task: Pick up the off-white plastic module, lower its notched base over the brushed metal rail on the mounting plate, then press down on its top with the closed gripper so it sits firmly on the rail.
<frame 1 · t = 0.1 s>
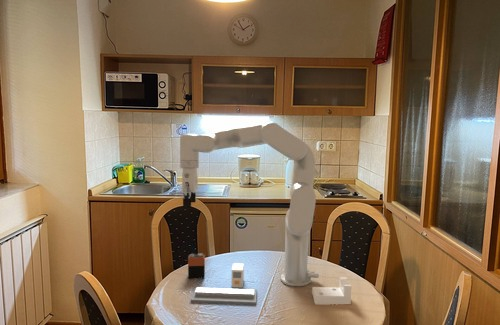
hand: (189, 204, 155), 31 cm above the table, tool pointing down, fingers open, 9 cm apart
mounting plate: (224, 296, 142), on the table
bracket: (330, 301, 141), on the table
battery: (196, 277, 159), on the table
module: (237, 283, 153), on the table
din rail: (224, 292, 141), on the mounting plate, point 1 cm above the table
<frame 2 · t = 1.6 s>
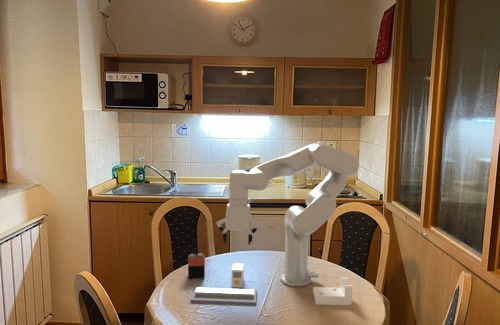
hand: (237, 243, 151), 17 cm above the table, tool pointing down, fingers open, 9 cm apart
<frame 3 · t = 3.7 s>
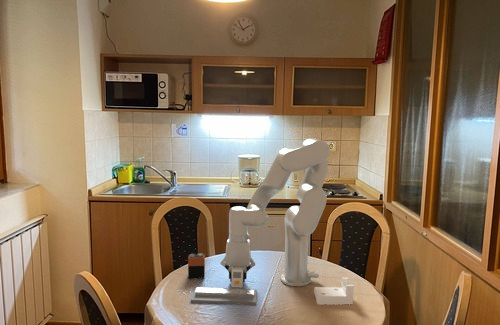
hand: (237, 280, 153), 1 cm above the table, tool pointing down, fingers closed on module, 4 cm apart
module: (237, 283, 153), on the table, touching gripper
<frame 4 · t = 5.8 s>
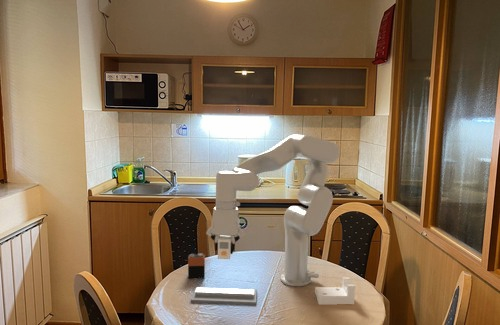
hand: (225, 252, 140), 18 cm above the table, tool pointing down, fingers closed on module, 4 cm apart
module: (224, 255, 140), point 16 cm above the table, touching gripper
when the fingers open (4 cm above the table, at t = 8.1 s): module stays where it is, resting on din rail.
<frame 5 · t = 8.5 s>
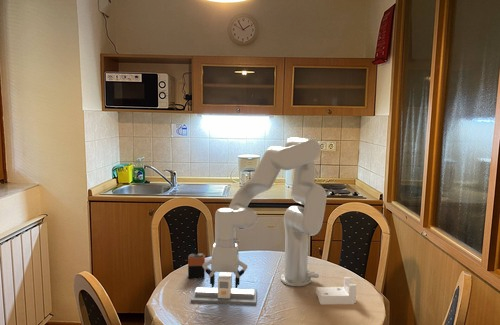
hand: (224, 285, 141), 4 cm above the table, tool pointing down, fingers open, 8 cm apart
module: (224, 293, 142), point 1 cm above the table, touching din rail
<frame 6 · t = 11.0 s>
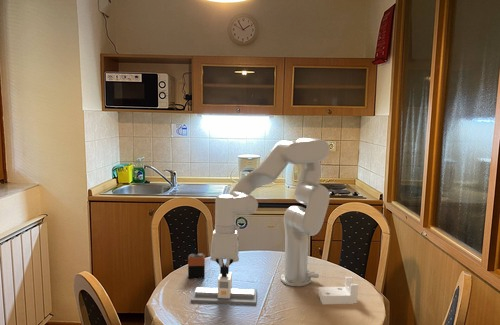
hand: (224, 275, 141), 9 cm above the table, tool pointing down, fingers closed
module: (224, 293, 142), point 1 cm above the table, touching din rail, gripper
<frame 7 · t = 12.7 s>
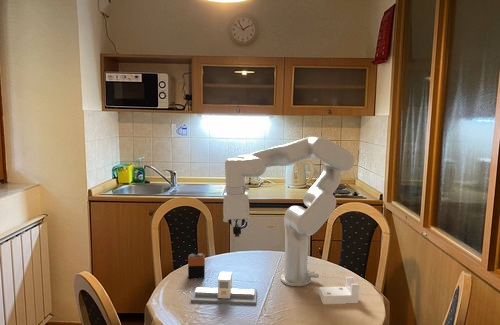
hand: (237, 235, 147), 21 cm above the table, tool pointing down, fingers closed
module: (224, 293, 142), point 1 cm above the table, touching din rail
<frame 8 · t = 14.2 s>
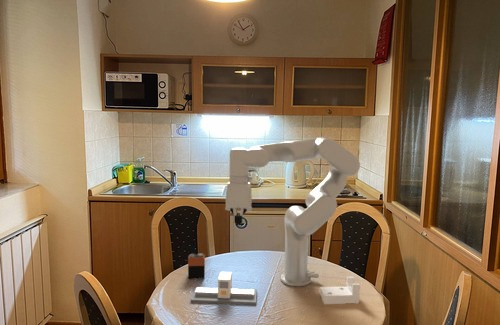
hand: (238, 224, 149), 25 cm above the table, tool pointing down, fingers closed
at the end: module 0.1 cm off-centre on the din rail, point 1.3 cm above the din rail's base; module tilted 0°; the gripper is holding nothing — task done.
